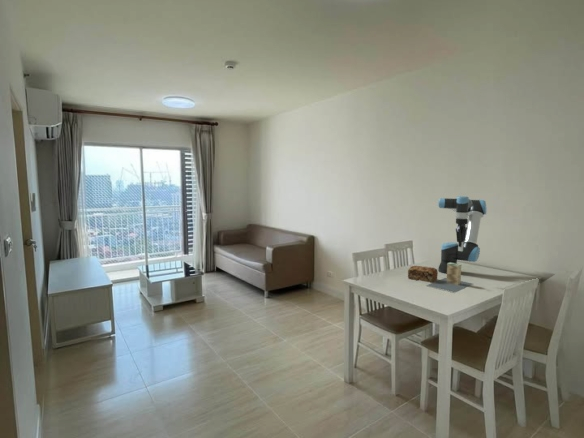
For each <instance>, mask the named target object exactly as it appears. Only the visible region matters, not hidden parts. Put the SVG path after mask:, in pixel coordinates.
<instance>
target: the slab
mask: <svg viewBox="0 0 584 438" xmlns="http://www.w3.org/2000/svg"><path fill="white" fill-rule="evenodd" d="M446 278H447V283H451V284H455V285H459V284H461V281H462V264H461V263H457V264H456V263H447V273H446Z"/></svg>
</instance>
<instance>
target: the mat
mask: <svg viewBox="0 0 584 438" xmlns="http://www.w3.org/2000/svg"><path fill="white" fill-rule="evenodd" d="M425 286H426V287H428V288H433V289H437V290H441V291H444V292H447V293H449V292H450V293H452V294H454V293H457V292H460V291H461V290H463V289H464V290H465V289H466V288H468V287H470V286H473V283H471V282H468V281H463V280H461V284H459V285H455V284H451V283H447V277H444V278H442V279H440V280H436V281H434V282H430V283H429V284H427V285H425Z"/></svg>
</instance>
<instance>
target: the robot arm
mask: <svg viewBox="0 0 584 438" xmlns="http://www.w3.org/2000/svg"><path fill="white" fill-rule="evenodd" d="M437 206H438V208H439V209H447V210H448V209H449V210H452V211H454V212H455V217H456V218H455V224H456V225H457V228H455V233H456V242H444V243H443V244H441V247H440V248H441V251H440V252H441V254H440V263H439V265H438V269H437V272H439V273H442V274H447V263H456V264H458V261H464V262H469V263H470V262H473V263H474V262H477V260H478V259H479V257H480V252H481V248H480V247H479V245H478V243H477V242H478V236H479V230H480V224H481V220H482V218H483V217H484V215H487V203H486V200H484V199H470V198H469V196H457V197H456V198H449V197H447V198H444V197H443V198H439V199H438V205H437Z"/></svg>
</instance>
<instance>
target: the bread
mask: <svg viewBox="0 0 584 438" xmlns="http://www.w3.org/2000/svg"><path fill="white" fill-rule="evenodd" d="M438 272H439V271H438V269H437V268H435V267H431V266H423V265H422V266H421V265H412V266H410V267H409V268H408V270H407V277H408V280H414V281H423V282H427V283H434V282H436V281H438Z"/></svg>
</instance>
